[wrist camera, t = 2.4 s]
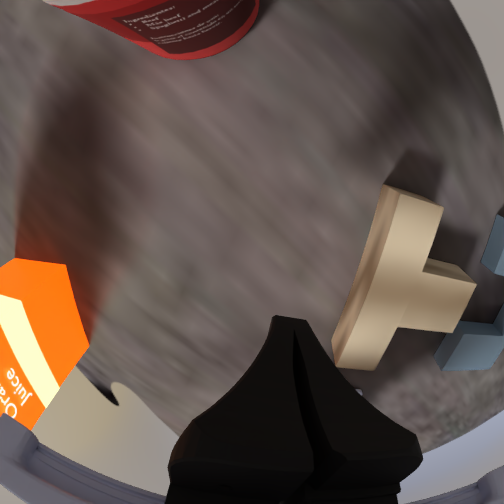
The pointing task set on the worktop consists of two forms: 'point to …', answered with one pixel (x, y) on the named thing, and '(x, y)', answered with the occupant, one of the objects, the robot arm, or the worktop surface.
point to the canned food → (170, 23)
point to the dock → (473, 333)
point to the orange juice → (36, 336)
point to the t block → (399, 282)
